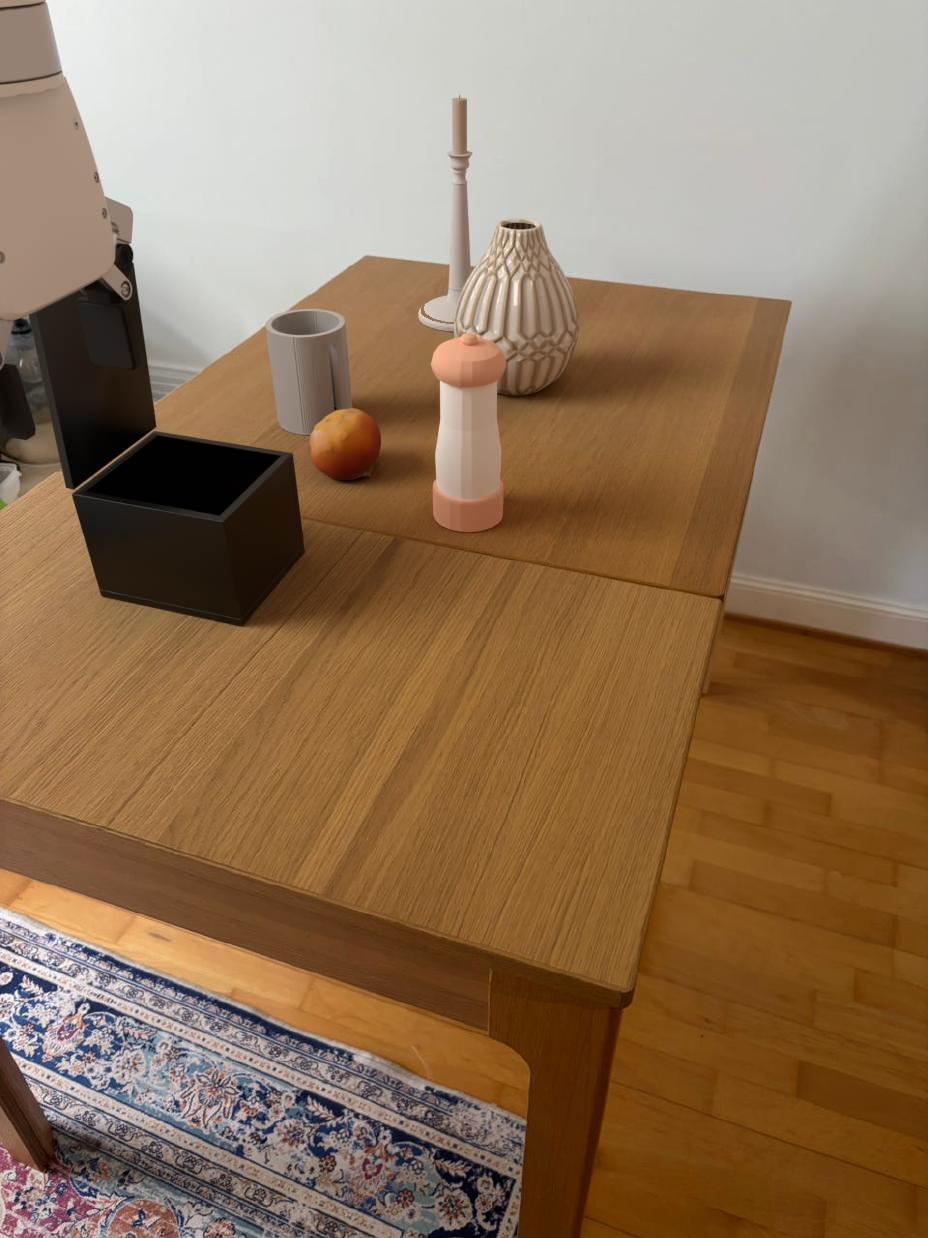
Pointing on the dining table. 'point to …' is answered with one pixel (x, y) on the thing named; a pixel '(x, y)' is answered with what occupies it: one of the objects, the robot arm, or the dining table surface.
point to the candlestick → (455, 226)
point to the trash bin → (193, 525)
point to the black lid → (90, 390)
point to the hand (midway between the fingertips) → (66, 397)
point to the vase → (521, 307)
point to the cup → (308, 367)
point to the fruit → (345, 444)
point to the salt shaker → (468, 435)
